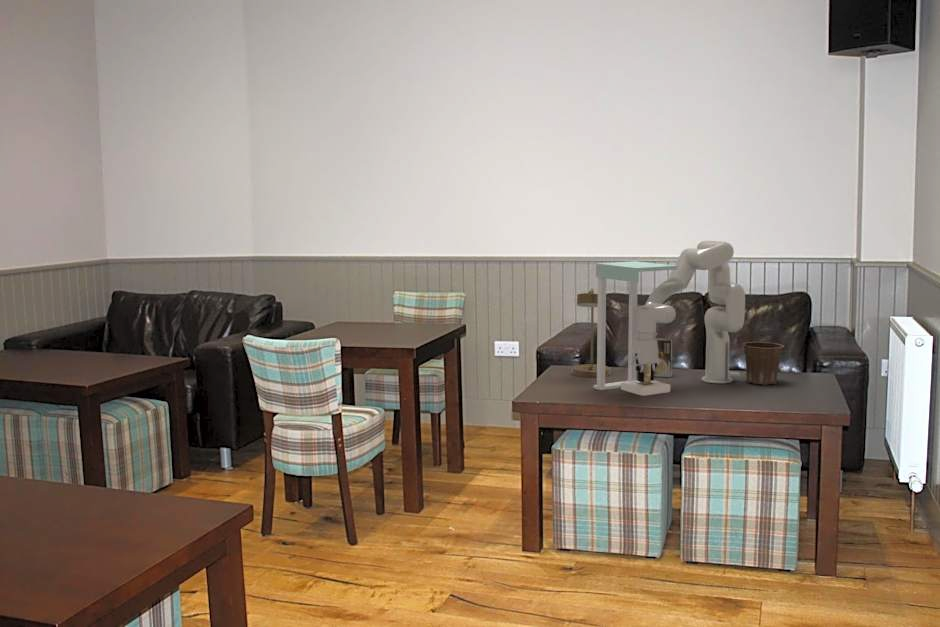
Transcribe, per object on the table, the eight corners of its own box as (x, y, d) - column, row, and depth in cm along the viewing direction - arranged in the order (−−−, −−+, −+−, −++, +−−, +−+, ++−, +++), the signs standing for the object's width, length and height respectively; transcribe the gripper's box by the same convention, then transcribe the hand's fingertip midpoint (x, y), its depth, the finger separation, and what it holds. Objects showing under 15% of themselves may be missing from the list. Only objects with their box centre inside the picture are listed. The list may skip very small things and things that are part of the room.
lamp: (567, 381, 414) (568, 292, 409) (573, 369, 440) (573, 286, 435) (608, 382, 410) (609, 293, 405) (611, 370, 437) (612, 286, 432)
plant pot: (777, 378, 416) (779, 341, 413) (786, 386, 400) (787, 348, 397) (738, 378, 417) (740, 341, 415) (745, 386, 401) (746, 347, 399)
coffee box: (672, 374, 426) (673, 338, 424) (671, 377, 420) (671, 340, 418) (651, 373, 429) (651, 337, 427) (649, 376, 423) (650, 340, 421)
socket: (647, 385, 403) (647, 378, 403) (670, 392, 391) (670, 384, 391) (620, 389, 396) (621, 382, 396) (642, 395, 384) (642, 388, 384)
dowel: (649, 386, 396) (649, 362, 394) (651, 388, 392) (651, 364, 390) (639, 386, 396) (639, 362, 394) (641, 388, 392) (641, 364, 390)
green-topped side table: (631, 383, 409) (633, 261, 402) (674, 394, 386) (677, 265, 379) (593, 388, 400) (594, 263, 393) (634, 400, 376) (636, 268, 369)
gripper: (656, 333, 398) (655, 377, 400) (623, 336, 390) (623, 381, 392) (668, 335, 392) (667, 380, 394) (635, 339, 383) (634, 384, 386)
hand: (645, 380), depth 393 cm, fingers open, 4 cm apart
